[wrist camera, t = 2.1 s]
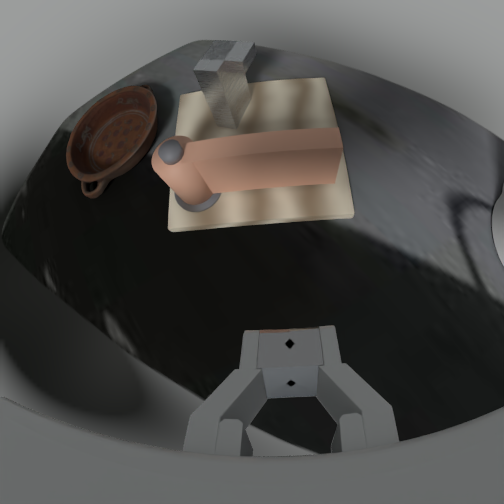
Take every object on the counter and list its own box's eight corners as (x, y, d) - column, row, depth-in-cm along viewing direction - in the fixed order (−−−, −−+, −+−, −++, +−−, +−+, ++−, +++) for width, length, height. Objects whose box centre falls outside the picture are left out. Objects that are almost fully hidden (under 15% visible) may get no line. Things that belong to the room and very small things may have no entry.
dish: (63, 196, 43) (45, 185, 38) (113, 96, 47) (101, 81, 42) (136, 211, 40) (118, 198, 35) (188, 93, 44) (179, 74, 39)
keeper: (251, 132, 38) (235, 72, 27) (217, 126, 39) (193, 70, 28) (265, 101, 39) (254, 42, 28) (232, 96, 40) (214, 40, 29)
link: (177, 207, 36) (144, 174, 27) (179, 172, 37) (150, 134, 28) (336, 192, 33) (347, 152, 24) (330, 157, 35) (337, 110, 26)
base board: (324, 84, 40) (324, 76, 38) (352, 217, 35) (355, 212, 33) (183, 100, 43) (179, 93, 41) (172, 232, 38) (166, 227, 36)
